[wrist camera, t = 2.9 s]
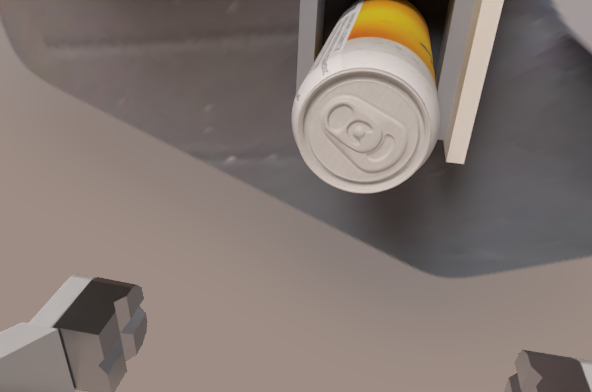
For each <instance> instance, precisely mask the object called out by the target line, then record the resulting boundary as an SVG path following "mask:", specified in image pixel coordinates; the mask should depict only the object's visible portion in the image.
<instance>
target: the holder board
mask: <svg viewBox="0 0 592 392" xmlns="http://www.w3.org/2000/svg"><path fill="white" fill-rule="evenodd" d="M325 2H326V0H300V16H299V38H298V60H297V82H296V95H297V92H298V90H299V88H300V86H301V84H302V83H303V81H304V79H305V78H306V76H307V74H308V72H309V71H310V69H311V67H312V65H313V64H314V62H315V60H316V58H317V57H318V55H319V53H320V51H321V50H322V45H323V30H324V16H325ZM503 2H504V0H449V3H448V8H447V14H446V19H445V24H444V29H443V35H442V40H441V45H440V50H439V56H438V61H437V66H436V71H435V80H436V88H437V95H438V102H439V110H440V130H439V135H438V139H437V140H443V142H444V150H445V157H446V162H450V163H458V164H464V161H465V157H466V153H467V149H468V145H469V141H470V137H471V133H472V129H473V125H474V120H475V116H476V112H477V108H478V104H479V100H480V96H481V92H482V88H483V84H484V80H485V76H486V72H487V67H488V63H489V59H490V55H491V51H492V47H493V43H494V39H495V35H496V31H497V27H498V23H499V18H500V14H501V10H502V6H503Z"/></svg>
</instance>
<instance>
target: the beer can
mask: <svg viewBox="0 0 592 392" xmlns="http://www.w3.org/2000/svg"><path fill="white" fill-rule="evenodd" d="M292 129H293V134H294V138H295V141H296V143H297V146H298V148H299V150H300V153H301V155H302V157H303V159H304V161H305V162H306V164H307V165H308V167H309V168H310V169H311V170H312V171H313V173H315V174H316V175H317V176H318V177H319V178H320V179H322V180H323V181H324V182H326V183H328V184H329V185H331V186H333V187H335V188H338V189H341V190H343V191H347V192H352V193H363V194H367V193H377V192H382V191H385V190H388V189H391V188H394V187H396V186H397V185H399V184H401V183H403V182H404V181H406V180H407V179H408V178H409V177H411V176H412V175H413V174H414V173H415V172H416V171H417V170H418V169H419V168H420V167H421V166H422V165H423V164H424V163H425V162H426V160H427V159H428V158H429V156H430V155H431V153H432V151H433V149H434V147H435V145H436V142H437V139H438V135H439V130H440V110H439V102H438V95H437V88H436V80H435V73H434V65H433V58H432V51H431V43H430V36H429V30H428V26H427V24H426V21H425V19H424V17H423V16H422V14H421V13H420V11H419V10H418V9H417V8H416V7H415V6H414V5H413V4H411V3H410V2H408V1H407V0H358V1H356V2H355V3H353V4H352V5H351V6H350V7H349V8H347V9H346V11H345V12H344V13H343V14H342V15H341V17H340V18H339V20H338V22H337V24H336V25H335V27H334V29H333V31H332V32H331V34H330V36H329V37H328V39H327V41H326V43H325V44H324V46H323V48H322V50H321V51H320V53H319V55H318V57H317V58H316V60H315V62H314V64H313V65H312V67H311V69H310V71H309V72H308V74H307V76H306V78H305V79H304V81H303V83H302V84H301V86H300V88H299V90H298V92H297V95H296V97H295V100H294V104H293V108H292Z"/></svg>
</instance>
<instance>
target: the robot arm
mask: <svg viewBox="0 0 592 392" xmlns="http://www.w3.org/2000/svg"><path fill="white" fill-rule="evenodd" d="M143 299H144V297H143V292H142V288H141V287H140V286H138V285H135V284H129V283H124V282H119V281H114V280H109V279H104V278H99V277H97V278H96V277H91V276H86V275H81V274H75V275H73V276H71V277H70V278H69V279H68V280H67V281H66V282H65V283H64V284H63V285H62V286H61V287H60V289H59V290H58V291H57V292H56V293H55V294H54V295H53V296H52V298H51V299H50V300H49V301H48V302H47V303H46V304H45V305H44V307H43V308H42V309H41V310H40V311H39V312H38V313H37V314H36V315H35V317H34V318H33V319H32V320H31V321H30V322H29V323H23V322H22V323H19V324H17V325H15V326H13V327H11V328H9V329H6V330H4V331H2V332H0V392H75V389H76V390H82V391H88V392H115V390H116V388H117V387H118V385H119V383H120V382H121V380H122V378H123V377H124V375H125V373H126V372H127V368H126V362H125V361H127V360H129V359H130V358H132V357H133V356H135V355H137V353H138V351H139V349H140V348H141V346H142V344H143V341H144V338H145V334H146V329H147V318H146V313H145V312H144V311H143V309H142V308H141V307H140V306H139V305H140V304H141V302H142V301H143ZM515 365H516V370H517V373H516V374H515V375H513V376H511V377H509V379H508V382H507V385H506V388H505V392H592V361H590V360H583V359H577V358H575V359H573V358H570V357H564V356H558V355H551V354H545V353H539V352H533V351H526V350H522V351H521V352H520V353H519V354H518V357H517V359H516V362H515Z"/></svg>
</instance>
